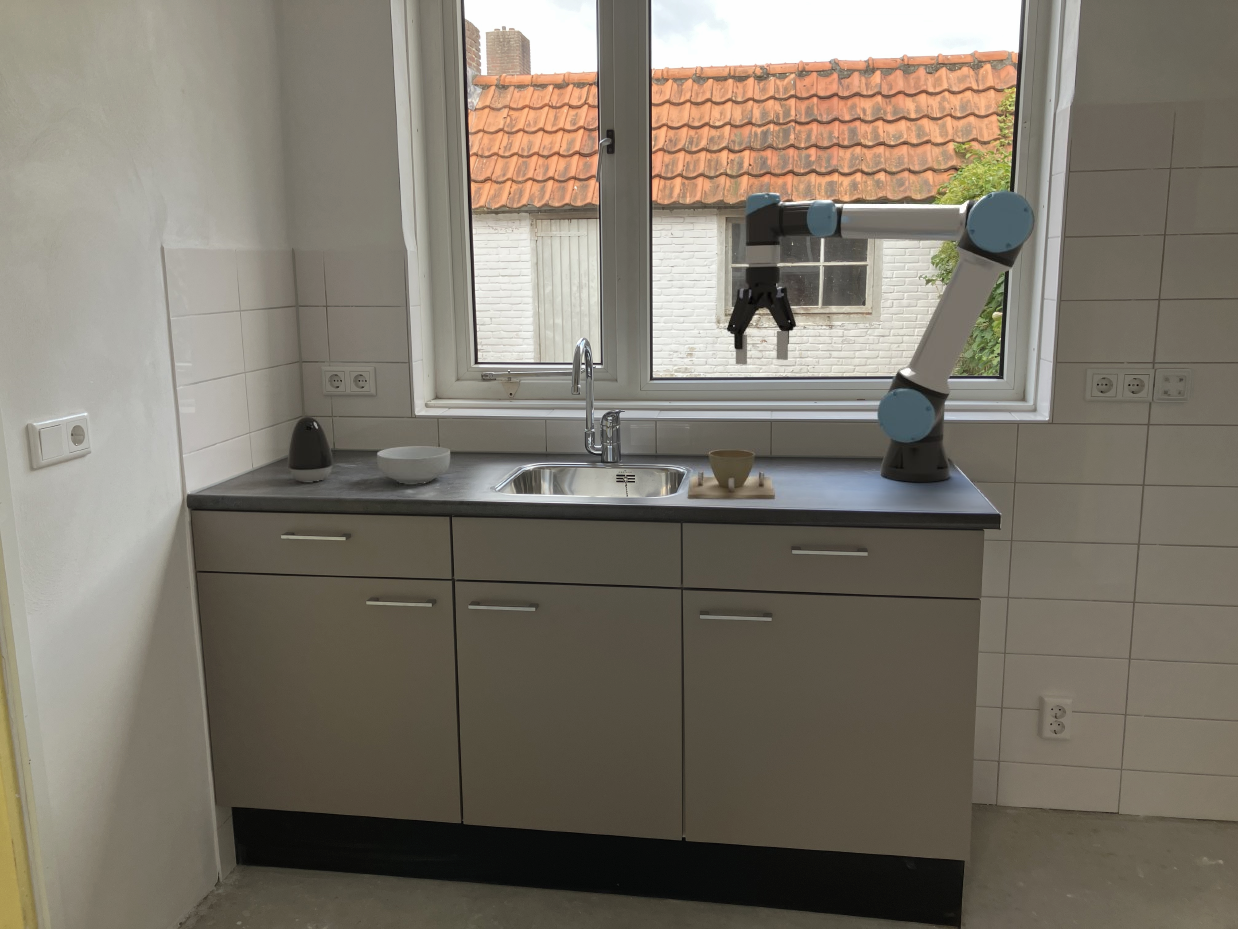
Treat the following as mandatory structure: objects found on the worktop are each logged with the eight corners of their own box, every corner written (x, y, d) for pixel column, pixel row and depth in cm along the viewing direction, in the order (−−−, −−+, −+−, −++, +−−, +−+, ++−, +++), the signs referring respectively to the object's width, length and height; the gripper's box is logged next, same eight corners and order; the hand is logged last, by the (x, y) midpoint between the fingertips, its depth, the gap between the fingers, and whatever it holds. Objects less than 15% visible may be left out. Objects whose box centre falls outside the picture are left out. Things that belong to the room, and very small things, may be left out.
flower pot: (716, 491, 214) (716, 458, 212) (703, 482, 223) (703, 450, 222) (760, 488, 215) (761, 456, 214) (746, 479, 225) (746, 448, 224)
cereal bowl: (435, 490, 224) (433, 458, 223) (366, 488, 227) (364, 457, 226) (462, 474, 240) (460, 445, 239) (397, 473, 244) (395, 444, 242)
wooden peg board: (770, 480, 227) (770, 464, 227) (774, 498, 210) (774, 480, 209) (691, 480, 229) (690, 463, 229) (688, 498, 212) (688, 480, 211)
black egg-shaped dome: (291, 486, 230) (285, 421, 227) (287, 478, 239) (282, 415, 236) (336, 482, 233) (332, 417, 231) (331, 474, 243) (327, 412, 240)
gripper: (786, 265, 233) (785, 356, 237) (710, 266, 217) (711, 365, 221) (812, 264, 227) (811, 358, 231) (735, 266, 211) (735, 367, 215)
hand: (762, 362), depth 226 cm, fingers open, 13 cm apart
